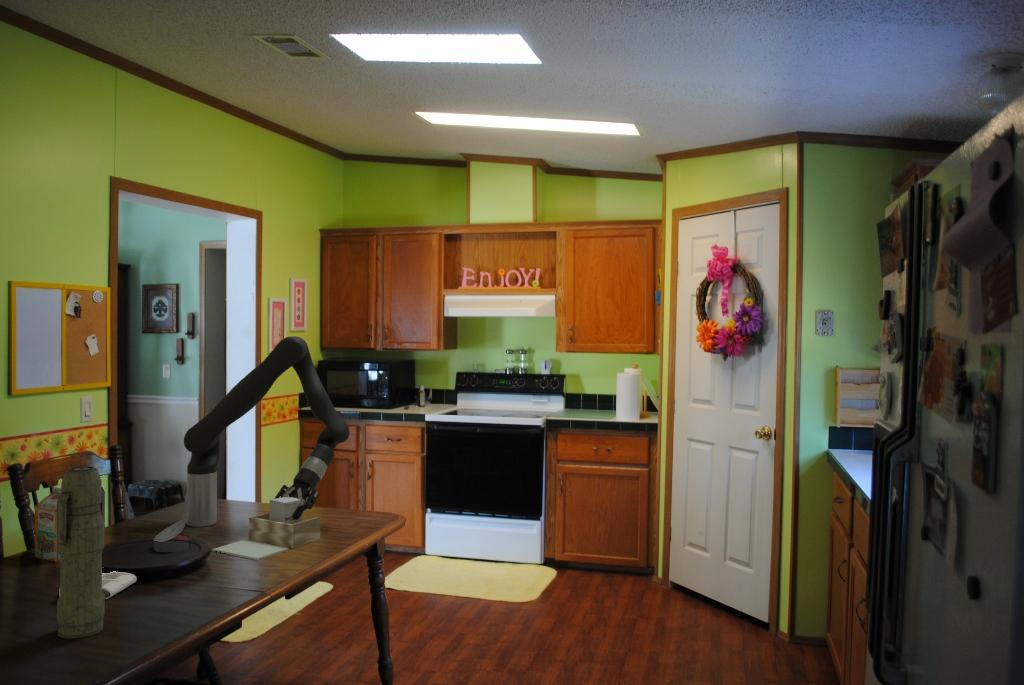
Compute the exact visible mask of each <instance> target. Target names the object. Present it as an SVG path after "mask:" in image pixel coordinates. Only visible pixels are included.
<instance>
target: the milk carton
mask: <svg viewBox="0 0 1024 685" xmlns="http://www.w3.org/2000/svg"><path fill="white" fill-rule="evenodd" d="M60 495H61V487H59V486H57V487H56V486H54V487H52V492H51V493H49V494H48V495H46V496H45V497H44V498H42V500H40V501H39V502H38V503H37V505H36V506H35V507H34V558H37V559H41V558H42V560H45V559H46V560H45V561H49V560H50V561H49V562H53V561H54V562H53V563H57V562H58V563H60V555H59V553H58V542H57V501H58V499H59V496H60Z"/></svg>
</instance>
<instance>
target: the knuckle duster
mask: <svg viewBox="0 0 1024 685" xmlns="http://www.w3.org/2000/svg"><path fill="white" fill-rule="evenodd" d="M137 579H138V578H137V576H136V575H135V574H132V573H130V572H124V571H122V572H121V571H120V572H119V571H117V572H116V571H113V572H110V573H102V592H103V594H104V598H105V600H108V599H110V598H111V597H113V596H115V595H117V594H118V593H120V592H122V591H124V589H126V588H128V587H129V586H132V585H133V584H135V583H136V582H137ZM58 589H59V593H58V595H59V596H58V597H60V587H59V588H58ZM109 594H110V595H109Z"/></svg>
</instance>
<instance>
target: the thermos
mask: <svg viewBox="0 0 1024 685" xmlns="http://www.w3.org/2000/svg"><path fill="white" fill-rule="evenodd" d="M102 484H103V483H102V479H101V474H100V472H99V469H98V468H96V467H95V466H85V465H84V466H83V465H82V466H74V467H70V468H68V469H67V470H65V472H64V474H63V477H62V480H61V485H60V486H61V487H60V488H61V495H60V496H59V499H58V501H57V542H58V553H59V555H60V562H59V573H60V575H59V581H60V582H59V588H60V597H59V596H58V597H59V598H58V600H57V602H56V624H57V627H58V628H57V636H58V637H59V638H62V639H70V640H71V639H81V638H86V637H90V636H94V635H97V634H98V633H100V632H101V631H102V630H104V626H105V625H104V618H105V609H106V608H105V607H106V606H105V604H106V603H105V600H106V599H105V598H104V594H103V592H102V568H103V551H104V549H105V530H106V529H105V528H106V525H105V524H106V491H105V489H104V487H103V486H102Z"/></svg>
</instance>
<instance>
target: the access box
mask: <svg viewBox="0 0 1024 685" xmlns="http://www.w3.org/2000/svg"><path fill="white" fill-rule="evenodd" d="M269 515H270V511H269V512H266V513H263V514H262V513H261V514H257V515H254V516H251V517H250V516H249V517H248V540H250V541H255V542H260V543H265V544H270V545H275V546H281V547H286V548H288V549H290V550H291V549H292V550H293V549H296V548H299V547H302V546H305V545H308V544H311V543H314V542H317V541H320V540H321V516H315V517H312V518H309V519H305V520H302V522H298V523H295V524H288V523H282V522H277V521H271V520H269Z"/></svg>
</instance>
